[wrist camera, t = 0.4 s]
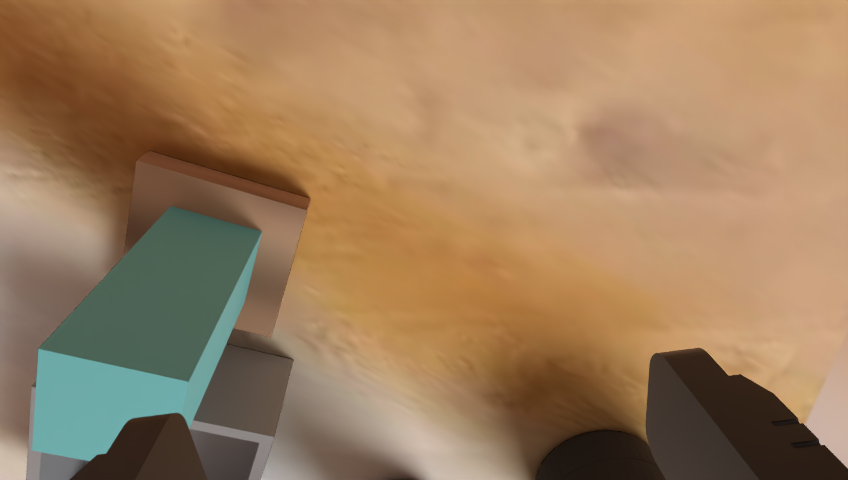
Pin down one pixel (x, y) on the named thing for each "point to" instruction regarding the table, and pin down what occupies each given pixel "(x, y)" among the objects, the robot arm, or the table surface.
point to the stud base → (231, 202)
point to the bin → (212, 420)
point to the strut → (144, 334)
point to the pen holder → (601, 459)
